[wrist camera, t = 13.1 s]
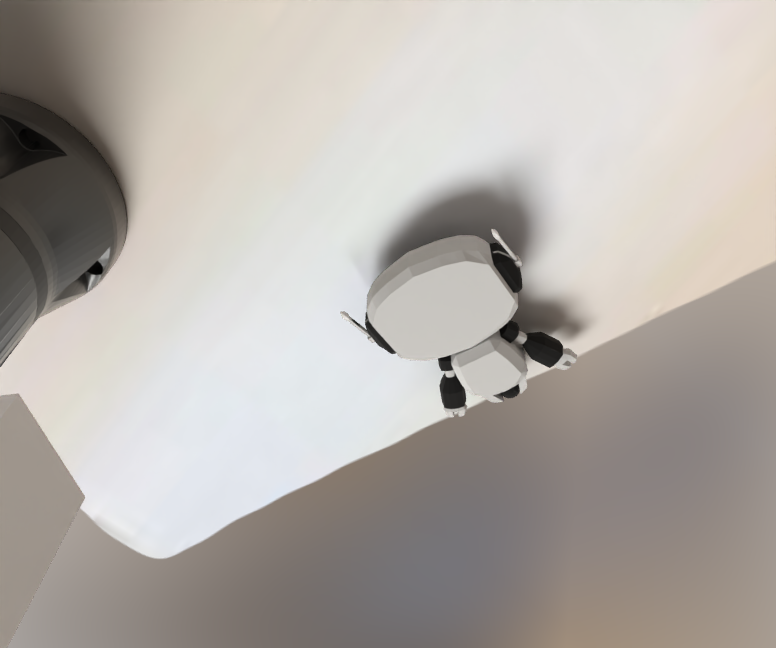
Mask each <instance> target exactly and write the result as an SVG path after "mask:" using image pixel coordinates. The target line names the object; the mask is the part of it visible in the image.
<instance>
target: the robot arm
mask: <svg viewBox="0 0 776 648" xmlns="http://www.w3.org/2000/svg"><path fill="white" fill-rule="evenodd" d="M126 230H127V218H126V209H125V204H124V200H123V197H122V194H121V191H120V188H119V186H118V183H117V181H116V179H115V177H114V175H113V173H112V172H111V170H110V168H109V167H108V165H107V164H106V162H105V161H104V159H103V158H102V157H101V155H100V154H99V153H98V151H97V150H96V149H95V148H94V147H93V146H92V145H91V143H90V142H89V141H88V140H87V139H86V138H85V137H84V136H83V135H81V134H80V133H79V132H78V131H77V130H76V129H75V128H73V127H72V126H71V125H70V124H68V123H67V122H66V121H64V120H63V119H61V118H60V117H58V116H57V115H55V114H53V113H52V112H50V111H48V110H46V109H44V108H42V107H40V106H38V105H36V104H34V103H32V102H29V101H26V100H24V99H21V98H18V97H14V96H11V95H6V94H1V93H0V367H1V366H2V364H3V363H4V362H5V360H6V359H7V358H8V356H9V355H10V354H11V353H12V351H13V350H14V349H15V347H16V346H17V345H18V343H19V342H20V341H21V339H22V338H23V337H24V335H25V334H26V333H27V331H28V330H29V329H30V327H31V326H32V325H33V324H34V322H35V321H36V320H37V319H38V318H40V317H42V316H44V315H46V314H48V313H50V312H52V311H54V310H56V309H58V308H60V307H62V306H64V305H66V304H68V303H70V302H72V301H74V300H76V299H78V298H79V297H81V296H83V295H85V294H86V293H88V292H89V291H90V290H92V289H93V288H94V287H95V286H97V285H98V284H99V283H100V282H101V281H102V279H103V278H104V277H105V276H106V274H107V273H108V272H109V270H110V269H111V267H112V266H113V265H114V263H115V262H116V260H117V259H118V257H119V255H120V253H121V251H122V248H123V246H124V242H125V237H126ZM84 499H85V496H84V494H83V493H82V491H81V490H80V488H79V487H78V485H77V483H76V482H75V480H74V479H73V477H72V476H71V474H70V473H69V471H68V469H67V468H66V466H65V465H64V463H63V462H62V460H61V459H60V457H59V456H58V454H57V452H56V451H55V449H54V448H53V446H52V445H51V443H50V442H49V440H48V438H47V437H46V435H45V434H44V432H43V431H42V429H41V428H40V426H39V425H38V423H37V421H36V420H35V418H34V417H33V415H32V414H31V412H30V411H29V409H28V407H27V406H26V404H25V403H24V401H23V400H22V398H21V397H20V395H19V394H11V395H2V396H0V648H7V647H8V645H9V643H10V641H11V639H12V637H13V636H14V634H15V632H16V630H17V628H18V626H19V624H20V622H21V620H22V618H23V616H24V614H25V612H26V611H27V608H28V607H29V605H30V603H31V601H32V599H33V597H34V595H35V593H36V591H37V589H38V587H39V585H40V584H41V582H42V580H43V578H44V576H45V574H46V572H47V570H48V568H49V566H50V564H51V562H52V560H53V558H54V557H55V555H56V553H57V550H58V549H59V547H60V545H61V543H62V541H63V539H64V537H65V535H66V533H67V531H68V530H69V528H70V526H71V523H72V522H73V520H74V518H75V516H76V514H77V512H78V510H79V508H80V506H81V504H82V503H83V501H84Z"/></svg>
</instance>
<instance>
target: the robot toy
mask: <svg viewBox="0 0 776 648" xmlns="http://www.w3.org/2000/svg"><path fill="white" fill-rule="evenodd" d="M491 230H492V234H493V236H494V237H495V239H496V240H498V241H499V242H500V243H501V245H502V246H503V247H504V248H505V249H504V248H503V247H502V246H500V245H499V244H497V243H491V244H489V243H488V242H486V241H485V240H483V239H481V238H479V237H478V236H476V235H458V236H452V237H448V238H444V239H441V240H437V241H434V242H432V243H429V244H427V245H424V246H421V247H419V248H416V249H414V250H411V251H409V252H407V253H406V254H405V255H403V256H402V257H401V258H399V259H398V260H397V261H396V262H394V263H393V264H392V265H390V266H389V267H388V268H386V269H385V270H384V271H383V272H382V273H381V274H380V275H379V276H378V277H377V278H376V280H375V281H374V282H373V284H372V286H371V288H370V290H369V293H368V295H367V312H366V319H365V325H366V328H367V330H366V329H365V328H363V327H362V326H361V325H360V324H358V323H357V322H356V321H355V320H353V319H352V318H351V317H350V316H349V314H347V313H346V312H345V311H344V312H340V313H341V316H342V318H343V319H345V320H346V321H349V322H350V323H351V324H353V325H354V326H355V327H356V328H358V329H359V330H360V331H361V332H363V333H364V334H365V335H367V336H368V340H370V341H371V342H372V343H374V342H376V343H377V344H378V345H379V346H380V347H382V348H384V349H385V350H387V351H388V352H389V353H391V354H395V353H397V354H398V355H399V356H400V357H401V358H404V359H407V360H417V361H426V360H433V359H437V358H438V361H439V366H440V369H441V371H445V374H444V375H443V377H442V379H441V383H440V392H441V398H442V402H443V405H444V408H443V409H444V411H445V413H446V414H447V416H448V417H455V416H454V412H457V411H458V416H463V415H465V413H466V409H467V405H466V404H465V402H466V394H465V390H466V391H468V392H469V393H471V394H473V395H476V396H481V397H483V398H485V399H487V400H489V401H491V402H503V401H504V400H503V396H504V397H506V398H513V397H515V396H517V395H518V393H519V392H520V393H522V392H523V391H524V390H525V389H526V388H527V382H526V374H527V371H528V370H527V365H526V360H525V355H524V351H523V347H524V349H525V350H526V352H527V353H528V355H529V356H530V357H531V359H533V360H535V361H537V362H539V363H541V364H543V365H545V366H547V367H549V368H550V367H552V366H555V367H556V368H559V369H562V370H566V369H568V368H570V367H571V363H570V362H572V363H575V362H576V359H577V355H576V354H575V353H574V352H573V351H572V350H570V349H563V345H562V344H561V342H560V341H559V340H557V339H555V338H553V337H551V336H549V335H547V334H545V333H543V332H534V333H527V334H525V333H523V332H521V331H519V326H518V325H517V323H515V322H513V321H511V320H510V319H511V318H512V317H513V315H514V313H515V312H516V310H517V308H518V292H519V291H520V290H521V289H522V278H521V272H520V268H519V267H521V266H523V264H522V261H521V259H520V258H519V257H518V255H515V254H514V253H513V252H512V251H511V249H510V248H509V247H508V246H507V244H506V243H505V242H504V241H503V239H502V238H501V237H500V236H499V233H498V232H497V231H496V229H491Z"/></svg>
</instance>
